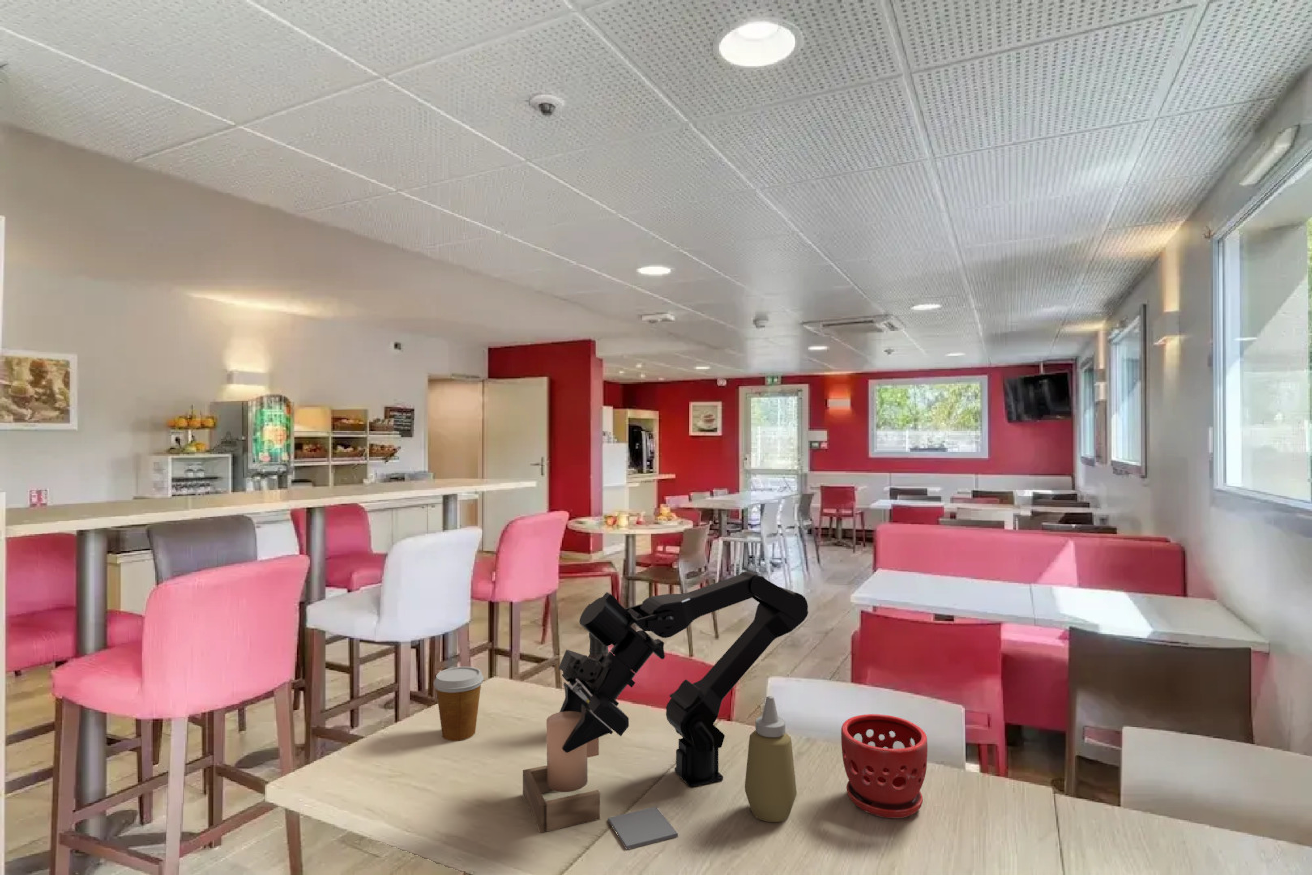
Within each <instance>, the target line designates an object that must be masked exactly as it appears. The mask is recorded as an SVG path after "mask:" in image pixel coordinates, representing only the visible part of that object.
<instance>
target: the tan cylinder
mask: <svg viewBox="0 0 1312 875" xmlns="http://www.w3.org/2000/svg"><path fill="white" fill-rule="evenodd" d="M580 719H581V713H580V712H575V711H564V712H560V711H559V712H556V713H553V714H551V715H550V716H548V717H547V718H546V722H545V723H546V765H547V785H548V787H549V788H550V789H552V790H554V791H553V792H559V793H571V792H575V791H578V790H581V789H582V788H584V787H585V786H586V785H587V784H588V779H589V776H588V773H589V772H588V771H589V770H588V758H592V757H596V756H599V754H600V752H599V751H600V747H599V746H600V745H599V744H600V743H599V738H600V737H599V738H596V739H594V740H592V741H590V742H588V743H586V744H584V745H582V746H580V747H578V748H576V749H574V750H572V751H570V752H568V753H566V752H565V751H564V750H563V749H562V747H563V745H564V744H565V742H566V740H567V739H568V737H569V736H570V734H571V732H572V731H573V729H574V728H575V726H576V725H577V723H578V722H579V720H580Z"/></svg>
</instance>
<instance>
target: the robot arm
mask: <svg viewBox="0 0 1312 875" xmlns="http://www.w3.org/2000/svg"><path fill="white" fill-rule="evenodd" d="M749 599H753V600H754V601H756V602H757V603H758V604H757V606H756V610H755V615H754V617H753V621H752V622H751V624H749V626H748V627H747V628H746V629H745V630H744V631H743V632H742V633H741V635H740V636H739V637H738V638H737V639H736V640H735V641H734V642H733V644H732V645H731V646H730V647H729V648H728V649H727V650H726V652H724V653H723V655H722V656H721V657H720V658H719V659H718V660H717V661H716V662H715V664H714V665H713V666H712V668H710V669H709V670H708V672H707V673H706V674H705V675H704V676H703V678H701V679H700V680H698V681H696V682H693V683H692V682H690V681H689V680H688V679H685V680H683V681H682V682H681V684H679V686H678V688H677V689H676V690H675V691H673V693H671V694H669V697H670V699H669V701H668V702H667V704H666V706H665V711H666V712H665V716H666V720H667V721H668V724H670V725H671V726H672V727H673V728H674V730H675V732H676V733H677V734H678V735H679V736H680V738H678V748H676V751H675V767H674V772H675V773H676V774H677V775H678V777H680V779H682V780H683V782H684V783H685V784H686V785H687V786H688V787H689V788H692V787H693V788H694V787H697V786H702V785H706V784H710V783H711V784H712V783H714V782H715V783H716V782H719V781H723V780H724V776H723V775H722V774H721V772H719V749H720V748H722V746H723V744H724V741H725V740H724V739H725V737H726V735H725V734H724V733H723V732H722V731H721V729H719V728H717V726H715V722H716V720H717V719H718V717H719V713H720V709H721V706H722V702H723V700H724V698H725V697H726V696H727V695H728V694H729V693H730V692H731V690H732V689H733V688H734V687H735V685H737V683H738V682H739V681H740V680H741V679H742V678H743V676H744V675H745V674H746V673H747V672H748V671H749V669H750V668H751V667H752V666H753V665H754V664H755V663H756V661H757V660H758V659H759V658H760V657H761V656H762V654H764V652H765V651H766V650H767V648H768V647H770V645H771V644H772V643H773V642H774V641H775V640H776V639H778V638H780V637H783V636H785V635H786V634H790V633H791V632H793V631H794V630H795V629H796V628H797V627H799V626H800V625H801V624H802V623H804V621H805V620H806V618H808V615H809V605H808V600H807V599H806V598H805V596H804V595H803V594H800V593H798V592H796V591H792V590H790V589H787V588H784V587H781V586H778V585H777V584H775V583H773V582H771V581H770V580H768V579H767V578H765V577H764V576H763V574H762V575H761V574H758V573H756V572H752V571H750V570H745V571H743V572H741V573H739V574H738V575H735V576H732V577H730V578H726V579H723V580H720V581H717V582H715V583H712V584H709V585H706V586H703V587H701V588H697V589H694V590H692V591H689V592H685V593H667V594H665V593H664V594H660V595H653V596H649V597H647V598H645V599H644V600H643V601H642V603H639V604H637V605H633V606H628V607H626V608H625V607H623V606H622V604H620V603H619V601H618V599H616V597H615V596H614V595H612V594H611V593H610V592H608V591H607V592H605V593H604V595H603V596H602V597H599V598H596V599H595V600H594V601H592V602H591V603H588V605H587V606H586V607H585V609H584V610H583V612H582V613H581V615H580V618H579V624H580V626H581V627H583V628H584V629H585V630H586V631H587V633H588V634H589V633H591V634H592V635H593V636H594V637H595V638H596V639H597V640H598V641H599V642H601V643H602V644H603V645H604V646H608V647H609V646H612V645H613V646H612V648H611V649H610V650H608V654H607V655H606V656H605V655H604V654H603V653H602V654H599V655H598V656H597V657H596V659H594V658H592V657H591V658H590V657H588V655H585V654H581V653H578V652H575V651H573V650H570V649H566V650H565V651H564V654H563V657H562V659H561V662H560V663H559V666H558V670H559V671H562V675H561V676H562V678H563V679H564V680H565V681H564V682H563V687H564V695H565V697H564V701H562V702H563V703H562V705H561V708H560V710H559V712H564V711H575V712H580V713H581V719H580V720H579V722H578V723H577V725H576V726H575V728H574V729H573V731H572V732H571V734H570V736H569V737H568V739H567V740H566V742H565V744H564V745H563V747H562V749H563V750H564V751H565V752H566V753H568V752H570V751H572V750H574V749H576V748H578V747H580V746H582V745H584V744H586V743H588V742H590V741H592V740H594V739H596V738H601V737H603V736H605V735H608V734H610V735H612V734H613V733H614V732H615V733H616V734H617V735H618V736H619V737H622V736H623V734H624V733H625V732H626V731H627V729H628V728H629V727H630V723H629V722H630V720H629V719H630V718H629V717H628V716H627V714H625V712H624V711H623V710H622V709H620V707H619V704H620V703H619V702H618V701H617V699H618V698H619V696H620V695H621V693H622V692H623V691H624V690H625V688H626V687H627V686H629V687H630V688H633V686H635V684H636V681H634V680H633V678H634V677H635V676H636V674H638V672H639V671H640V669H641V668H642V667H643V666H644V665H645V664H646V662H647V660H649V659H650V658H651V656H652V655H655V656H657V657H658V658H660V660H664V659H665V658H666V655H665V650H664V647H665V642H664V641H663V640H661V639H667V638H671V637H674V636H676V635H677V634H679V633H680V632H682V631H684V630H685V629H687V628H688V627H689V626H690V625H691V624H692V623H693V622H694V621H695V620H696V619H698V618H700V617H703V616H706V615H708V614H709V615H710V614H712V613H714V612H716V611H719V610H722V609H725V608H727V607H730V606H732V605H736V604H738V603H741V602H744V601H746V600H749ZM632 625H635V626H636V627H638V628H639V630H638V631H636V630H635V629H634V628H633V627H632ZM647 632H651V633H653V634H654V635H656V636H658V637H659V638H656V639H654V638H653V637H652V636H651V635H650V634H649V633H647ZM660 638H661V639H660ZM566 682H568V684H567V683H566ZM587 700H589V703H588V702H587ZM610 728H611V729H610Z"/></svg>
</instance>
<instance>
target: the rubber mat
mask: <svg viewBox="0 0 1312 875" xmlns="http://www.w3.org/2000/svg"><path fill="white" fill-rule="evenodd" d="M607 821H608V823H609V824H610V826H611V827H612V826H613V828H614V829H613V828H612V829H613V830H615V831H616V832H617V834H618V835H617V834H616V835H617V837H618V836H619V837H618V839H619V840H620V839H621V840H620V841H622V842H623V843H622V842H621V843H622V845H623V844H624V845H623V846H624V848H625V847H626V848H627V849H628V850H630V849H629V848H631V849H635V848H639V847H643V846H646V845H650V844H654V843H658V842H662V841H666V840H670V839H674V838H678V836H679V835H678V832H677V830H675V828H674V826H672V824H671V823H670V822H669V820H668V819H667V818H666V817H665V816H664V814H663V812H661V811H660V809H659V808H658V807H657V806H652V807H648V808H644V809H640V810H636V811H631V812H627V813H623V814H622V813H621V814H617V815H614V816H609V817H608V819H607ZM615 831H614V832H615ZM616 832H615V833H616ZM626 848H625V849H626ZM627 849H626V850H627Z"/></svg>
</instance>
